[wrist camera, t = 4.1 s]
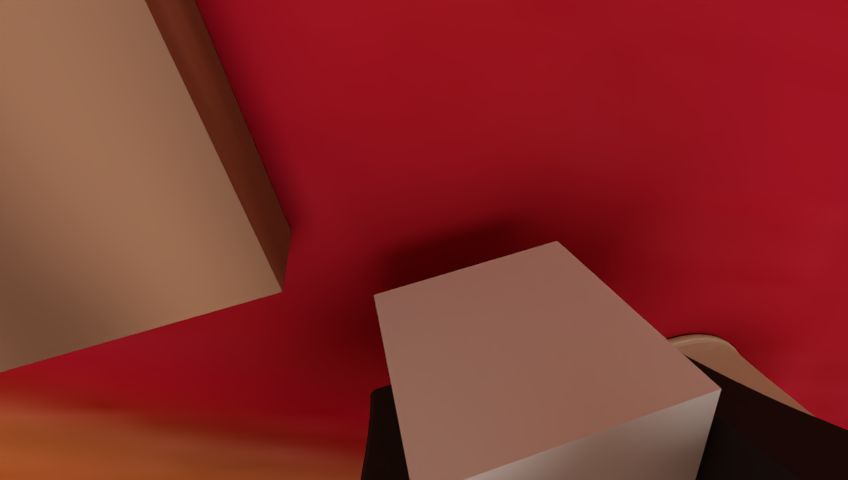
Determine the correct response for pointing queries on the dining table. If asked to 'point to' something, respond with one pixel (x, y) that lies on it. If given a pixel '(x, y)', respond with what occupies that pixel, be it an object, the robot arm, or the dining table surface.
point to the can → (730, 365)
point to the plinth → (123, 177)
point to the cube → (538, 377)
